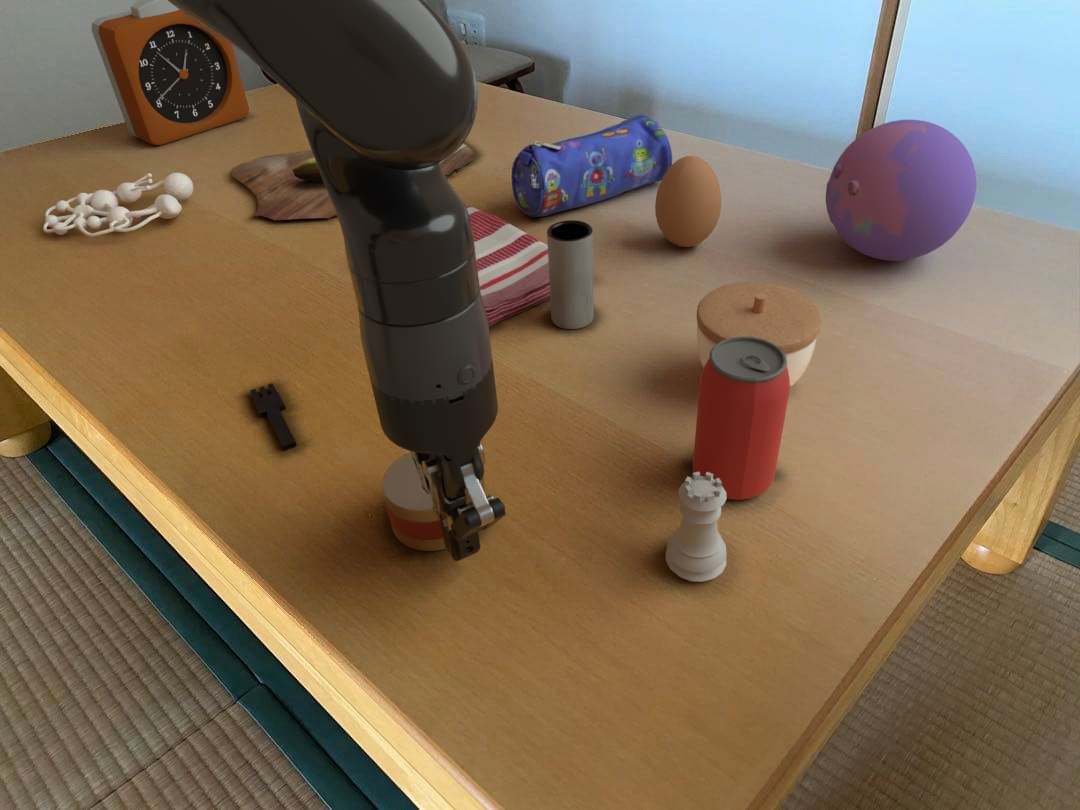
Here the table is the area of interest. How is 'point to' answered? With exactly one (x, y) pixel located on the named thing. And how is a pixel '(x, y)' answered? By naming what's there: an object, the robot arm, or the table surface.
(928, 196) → the decorative ball
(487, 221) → the dish towel
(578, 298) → the grey hollow cylinder
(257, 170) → the cutting board
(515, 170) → the pencil case
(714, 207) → the egg
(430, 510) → the tin can
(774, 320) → the trinket box
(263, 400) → the fork
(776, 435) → the beer can
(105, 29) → the alarm clock
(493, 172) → the table surface
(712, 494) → the rook chess piece
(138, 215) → the tangled rod sculpture
